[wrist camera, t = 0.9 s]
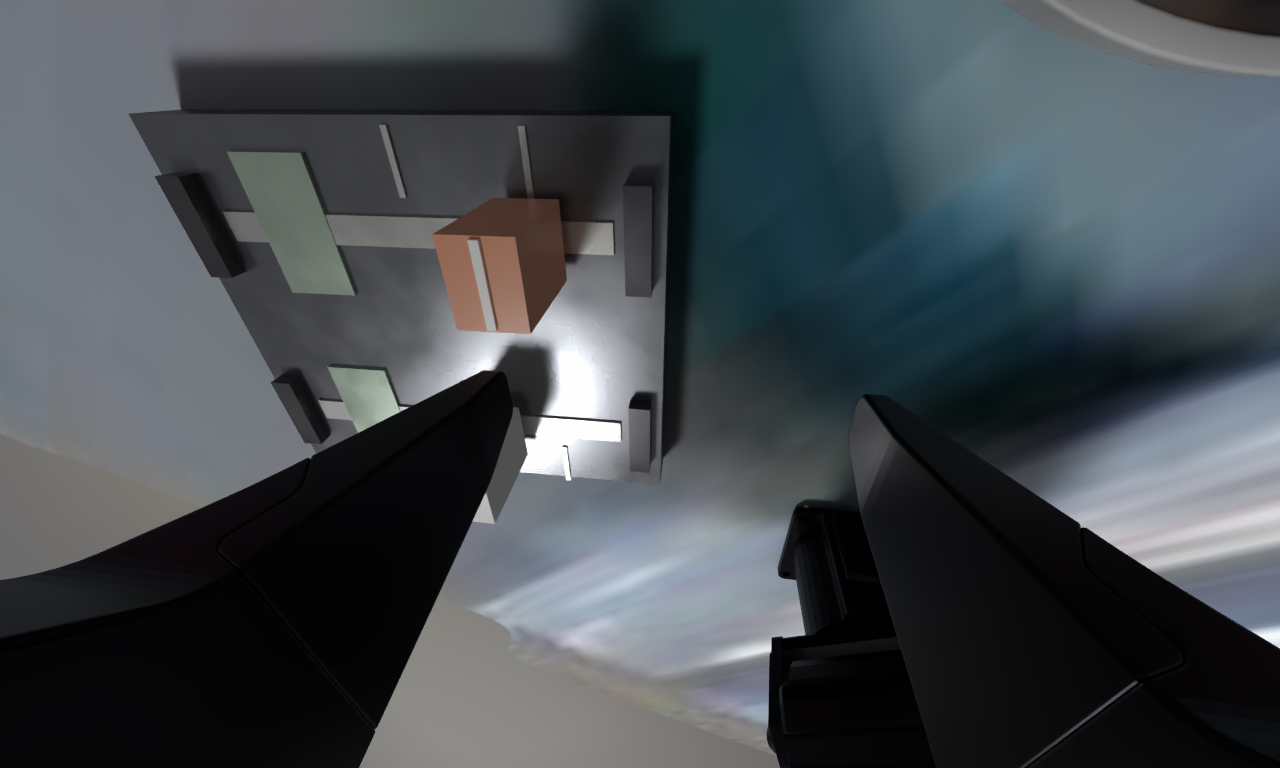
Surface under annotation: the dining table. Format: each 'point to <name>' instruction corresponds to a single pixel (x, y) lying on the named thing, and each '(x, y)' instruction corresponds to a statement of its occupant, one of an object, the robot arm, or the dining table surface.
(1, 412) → the dining table surface
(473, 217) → the block
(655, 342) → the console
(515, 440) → the fader
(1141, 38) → the bowl
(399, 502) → the robot arm
